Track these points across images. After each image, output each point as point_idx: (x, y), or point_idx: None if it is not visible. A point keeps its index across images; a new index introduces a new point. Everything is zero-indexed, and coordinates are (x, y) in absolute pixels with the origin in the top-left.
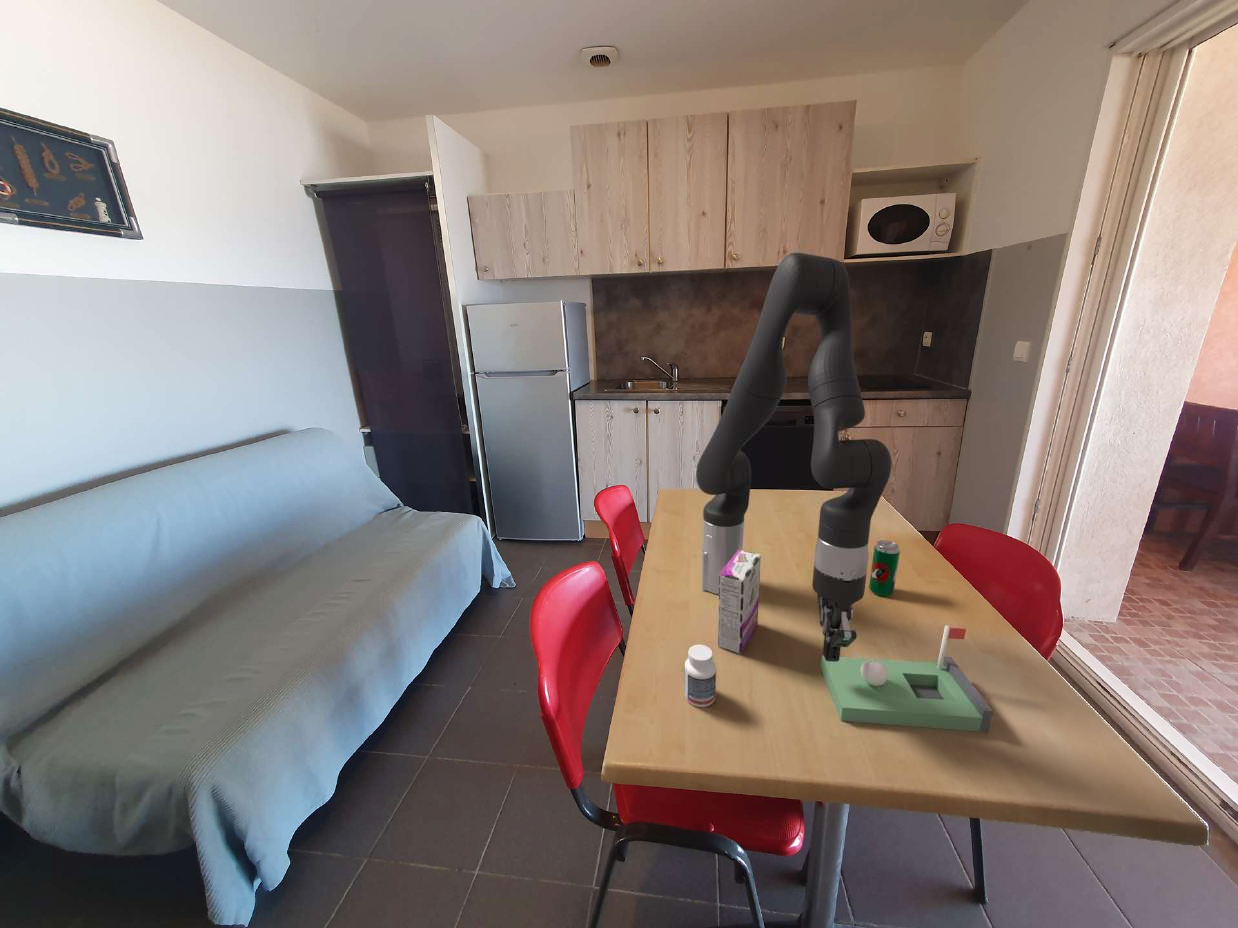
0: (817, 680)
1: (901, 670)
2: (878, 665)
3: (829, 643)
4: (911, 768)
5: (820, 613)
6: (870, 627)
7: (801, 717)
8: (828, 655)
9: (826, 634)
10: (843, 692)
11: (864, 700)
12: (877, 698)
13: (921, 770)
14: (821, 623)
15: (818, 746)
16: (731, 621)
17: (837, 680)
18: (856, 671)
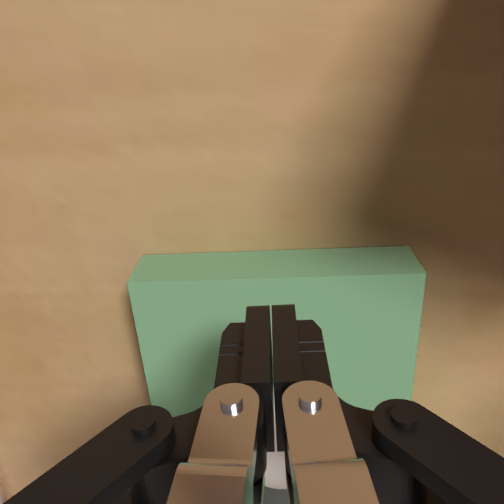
0: (333, 218)
1: None
2: (266, 479)
3: (140, 416)
4: (24, 380)
5: (468, 471)
6: None
7: (120, 121)
8: (240, 334)
9: (249, 420)
10: (209, 302)
11: (181, 357)
12: (200, 394)
13: (27, 398)
14: (391, 418)
15: (2, 158)
16: None
17: (272, 297)
18: (333, 369)
